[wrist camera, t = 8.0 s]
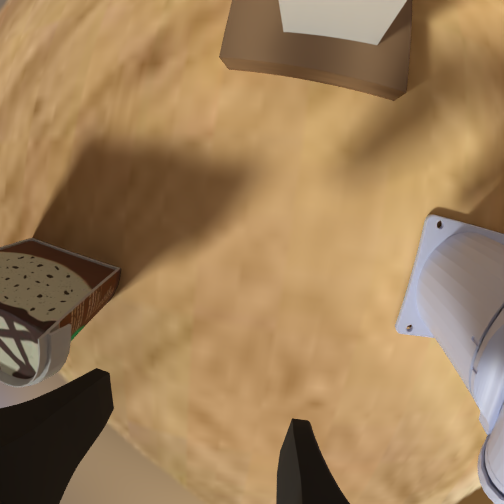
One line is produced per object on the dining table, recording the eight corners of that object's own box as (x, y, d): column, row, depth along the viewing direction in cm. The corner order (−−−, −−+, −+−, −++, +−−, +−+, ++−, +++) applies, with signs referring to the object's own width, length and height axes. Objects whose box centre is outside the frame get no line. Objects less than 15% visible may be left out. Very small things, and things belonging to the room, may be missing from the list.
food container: (24, 297, 24) (-53, 343, 15) (21, 233, 22) (-69, 267, 13) (134, 345, 23) (63, 428, 14) (139, 273, 21) (47, 343, 12)
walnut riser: (400, -20, 14) (411, -40, 11) (391, 102, 17) (406, 92, 14) (257, -45, 15) (251, -69, 12) (230, 71, 18) (219, 57, 15)
